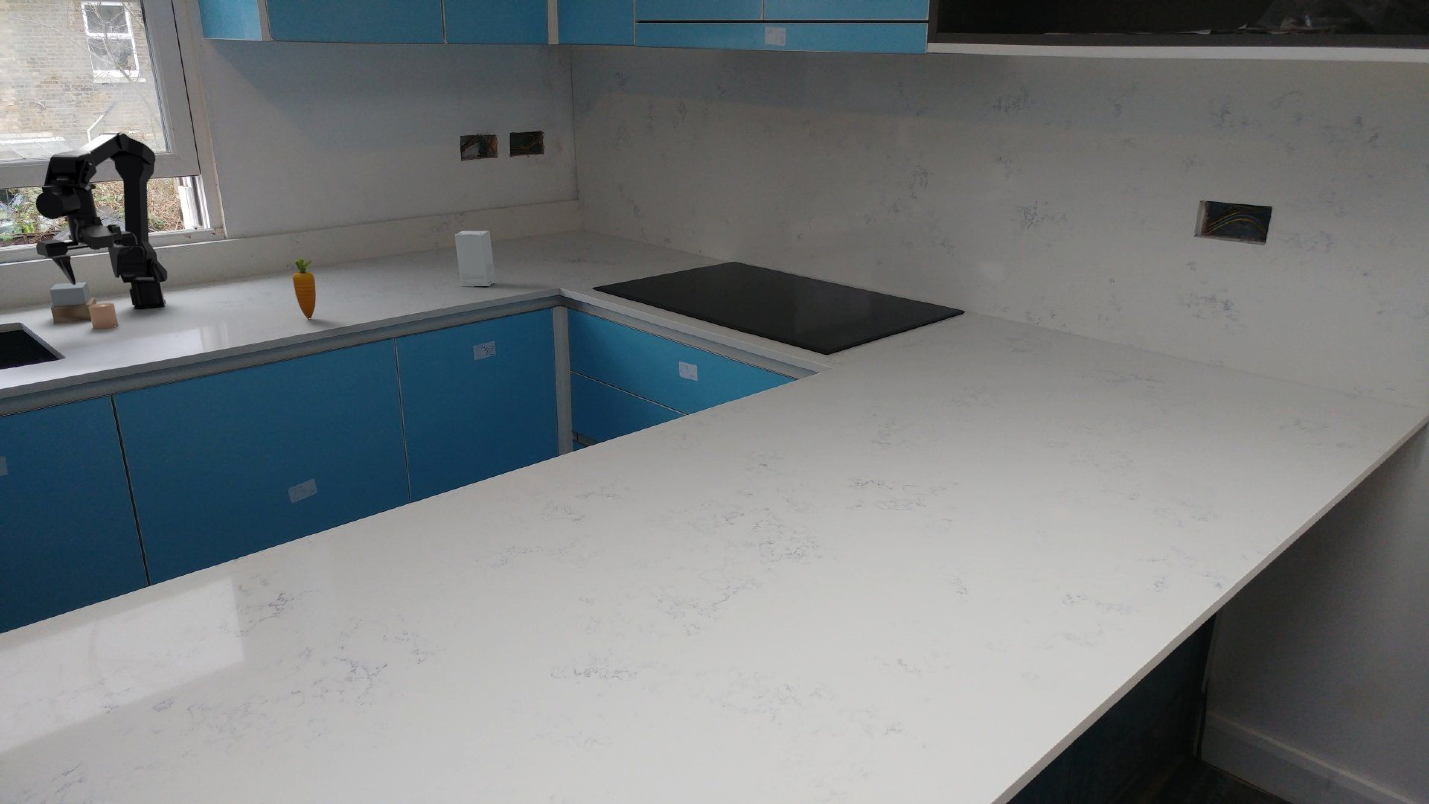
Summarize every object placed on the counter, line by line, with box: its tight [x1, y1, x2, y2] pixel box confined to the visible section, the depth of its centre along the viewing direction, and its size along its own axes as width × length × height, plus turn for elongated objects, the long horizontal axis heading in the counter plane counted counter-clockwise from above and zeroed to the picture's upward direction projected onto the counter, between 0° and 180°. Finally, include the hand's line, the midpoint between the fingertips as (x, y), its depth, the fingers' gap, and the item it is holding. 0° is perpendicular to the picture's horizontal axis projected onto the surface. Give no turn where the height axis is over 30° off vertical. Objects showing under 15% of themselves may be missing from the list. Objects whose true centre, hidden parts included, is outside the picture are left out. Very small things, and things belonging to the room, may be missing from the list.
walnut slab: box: [50, 297, 98, 324], centre depth 225 cm, size 8×8×4 cm
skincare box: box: [454, 230, 496, 287], centre depth 260 cm, size 8×6×15 cm
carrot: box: [292, 257, 317, 320], centre depth 224 cm, size 5×5×15 cm
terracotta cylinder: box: [88, 302, 119, 330], centre depth 218 cm, size 5×5×5 cm
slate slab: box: [49, 281, 91, 306], centre depth 224 cm, size 6×6×4 cm
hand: (96, 281), depth 215 cm, fingers open, 9 cm apart
